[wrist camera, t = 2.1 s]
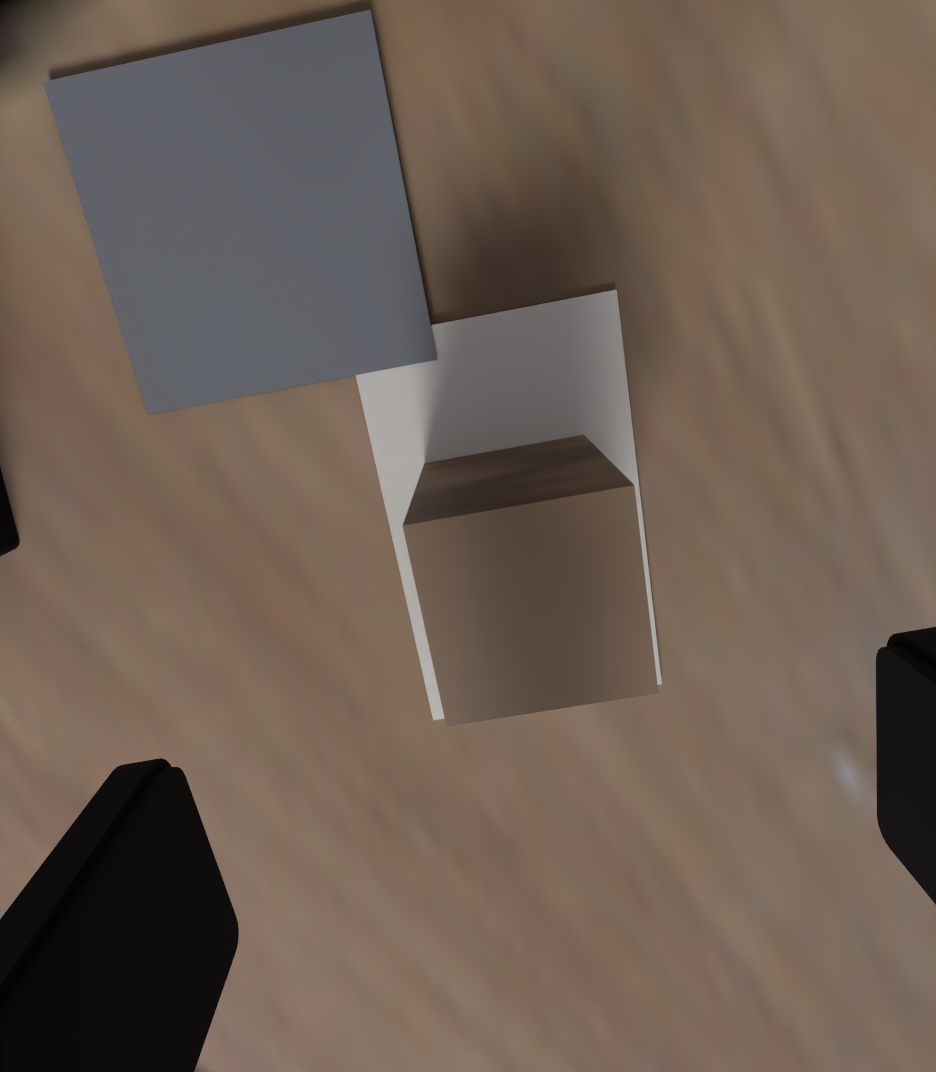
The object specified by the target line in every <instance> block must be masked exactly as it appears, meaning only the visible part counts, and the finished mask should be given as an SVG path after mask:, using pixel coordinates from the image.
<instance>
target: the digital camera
mask: <svg viewBox="0 0 936 1072" xmlns="http://www.w3.org/2000/svg"><path fill="white" fill-rule="evenodd" d="M18 546H19V538H18V535H17V531H16V527H15V523H14V519H13V515H12V511H11V507H10V504H9V500H8V496H7V492H6V488H5V484H4V480H3V477H2V473H1V469H0V556H2V555H4V554H6V553H8V552H10V551H12V550H14V549H15V548H17V547H18Z"/></svg>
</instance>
